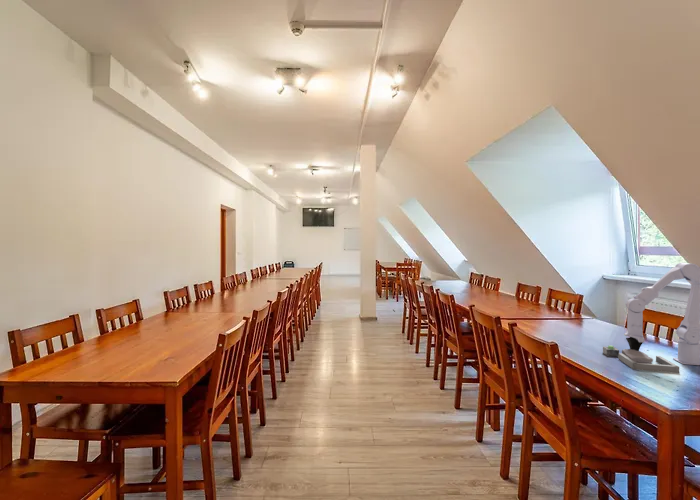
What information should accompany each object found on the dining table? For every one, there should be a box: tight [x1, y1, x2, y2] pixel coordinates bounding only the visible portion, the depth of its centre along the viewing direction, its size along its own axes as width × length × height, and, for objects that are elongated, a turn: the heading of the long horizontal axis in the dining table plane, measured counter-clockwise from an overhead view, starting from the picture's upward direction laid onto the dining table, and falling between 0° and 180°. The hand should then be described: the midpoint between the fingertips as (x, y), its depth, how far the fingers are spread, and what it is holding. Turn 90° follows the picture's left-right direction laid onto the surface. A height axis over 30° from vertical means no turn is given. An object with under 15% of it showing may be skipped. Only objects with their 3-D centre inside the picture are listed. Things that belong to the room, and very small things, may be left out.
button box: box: [602, 346, 620, 358], centre depth 179 cm, size 5×5×3 cm
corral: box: [617, 352, 680, 374], centre depth 164 cm, size 16×16×2 cm
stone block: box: [621, 348, 654, 364], centre depth 169 cm, size 12×5×10 cm
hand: (634, 354), depth 175 cm, fingers closed
